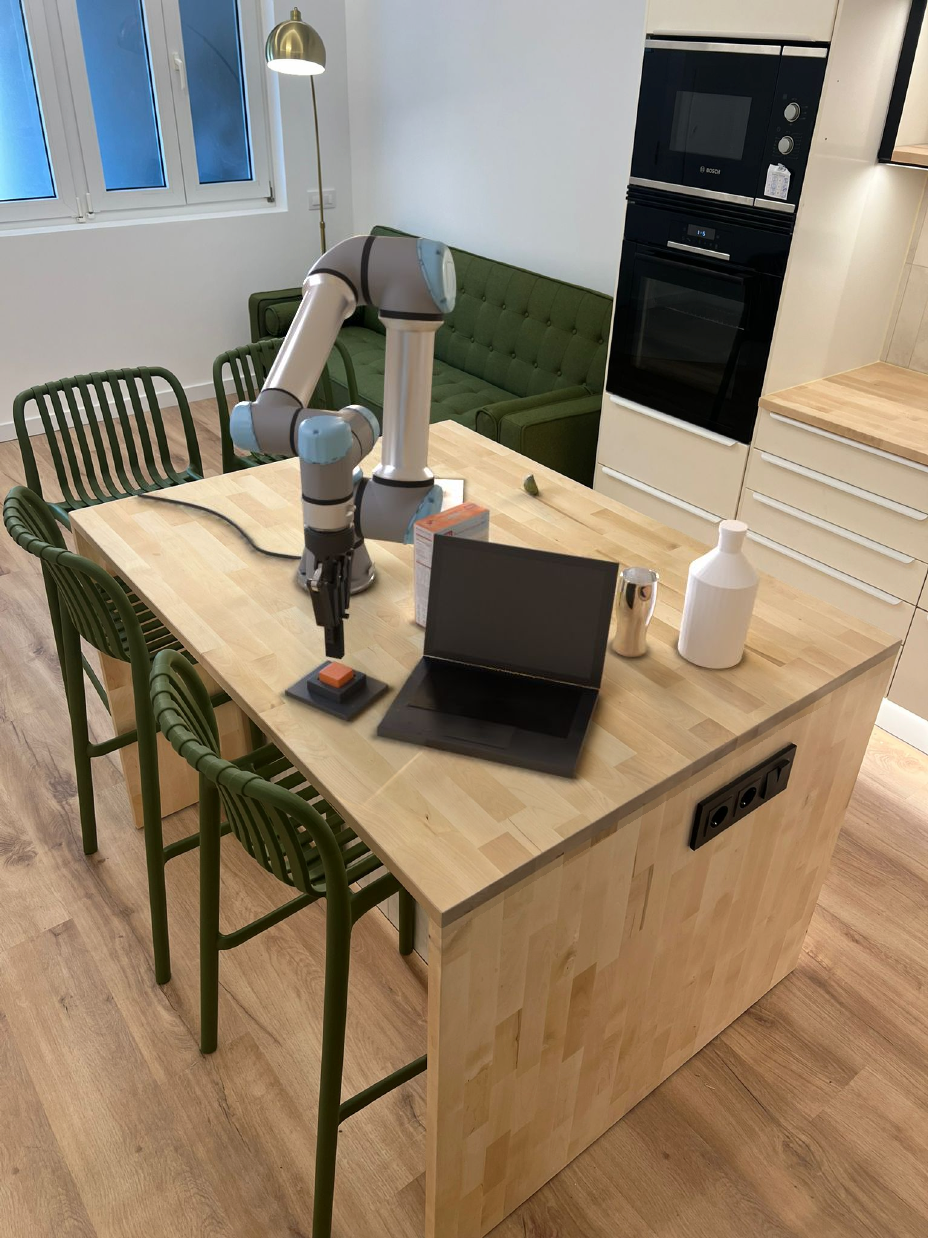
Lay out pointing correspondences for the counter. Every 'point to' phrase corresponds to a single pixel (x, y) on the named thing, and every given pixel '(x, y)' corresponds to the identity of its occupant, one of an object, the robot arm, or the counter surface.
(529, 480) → the lime
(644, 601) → the beer glass
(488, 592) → the laptop screen
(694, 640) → the bottle
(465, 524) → the cracker box
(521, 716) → the laptop
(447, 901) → the counter surface
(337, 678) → the key
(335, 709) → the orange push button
